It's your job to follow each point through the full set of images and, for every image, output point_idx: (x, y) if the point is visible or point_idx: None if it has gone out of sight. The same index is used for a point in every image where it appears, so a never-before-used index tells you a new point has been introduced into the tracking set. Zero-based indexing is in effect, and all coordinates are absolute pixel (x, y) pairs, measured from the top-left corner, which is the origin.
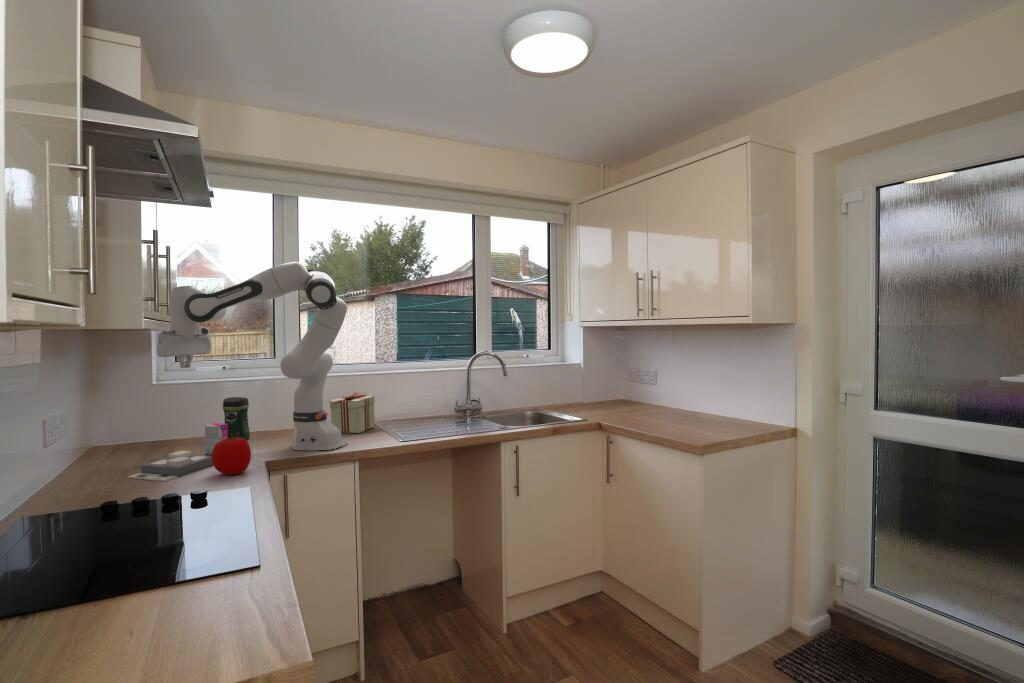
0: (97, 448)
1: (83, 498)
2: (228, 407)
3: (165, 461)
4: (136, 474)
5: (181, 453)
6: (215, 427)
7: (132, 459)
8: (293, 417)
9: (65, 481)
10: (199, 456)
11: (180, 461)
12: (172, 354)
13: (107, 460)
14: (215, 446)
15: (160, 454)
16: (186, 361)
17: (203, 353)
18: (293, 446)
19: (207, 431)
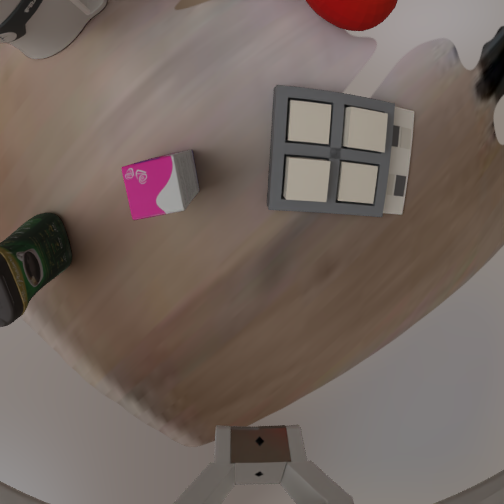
0: (214, 434)
1: (488, 188)
2: (19, 288)
3: (352, 180)
4: (389, 208)
5: (314, 169)
6: (176, 168)
7: (269, 331)
8: (29, 10)
9: (416, 306)
10: (291, 127)
11: (381, 112)
12: (495, 492)
13: (284, 365)
14: (392, 3)
15: (217, 311)
16: (226, 492)
17: (27, 500)
18: (92, 11)
19: (186, 195)
